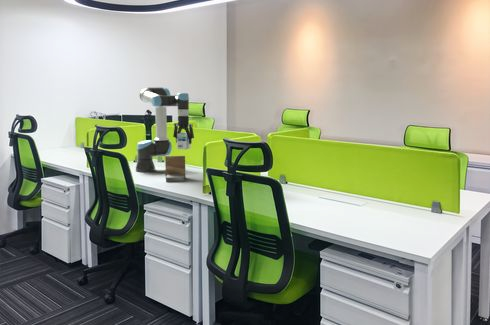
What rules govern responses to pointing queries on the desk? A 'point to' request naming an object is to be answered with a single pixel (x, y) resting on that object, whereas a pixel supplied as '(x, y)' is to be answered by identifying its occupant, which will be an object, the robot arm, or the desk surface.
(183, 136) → the light bulb box
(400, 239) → the desk surface
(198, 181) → the desk surface
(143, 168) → the robot arm
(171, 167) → the brown box
